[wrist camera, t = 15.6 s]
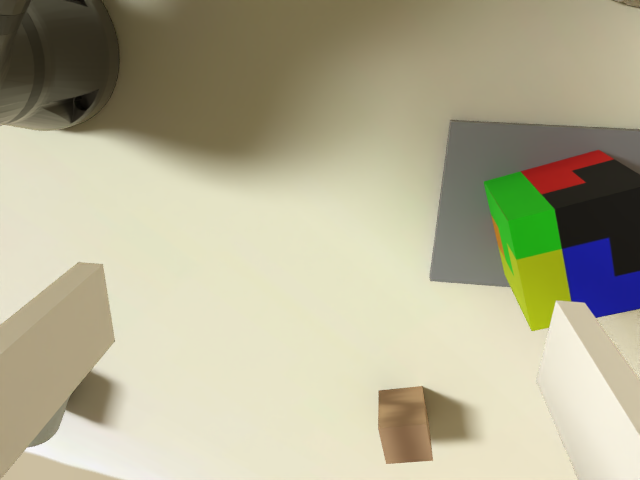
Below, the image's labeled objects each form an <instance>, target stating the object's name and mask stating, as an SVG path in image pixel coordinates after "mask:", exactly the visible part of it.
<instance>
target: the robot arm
mask: <svg viewBox="0 0 640 480" xmlns="http://www.w3.org/2000/svg"><path fill="white" fill-rule="evenodd" d="M118 70H119V49H118V42H117V37H116V33H115V30H114V27H113V24H112V21H111V19H110V16H109V14H108V12H107V10H106V8H105V6H104V5H103V3H102V1H101V0H0V126H1V125H9V126H14V127H20V128H26V129H32V130H39V131H50V130H59V129H64V128H67V127H70V126H73V125H76V124H79V123H82V122H84V121H86V120H88V119H90V118H91V117H93V116H94V115H95V114H96V113H98V112H99V111H100V110H101V109H102V108H103V106H104V105H105V104H106V103H107V101H108V100H109V98H110V96H111V94H112V92H113V90H114V87H115V84H116V81H117V76H118ZM114 342H115V339H114V332H113V326H112V320H111V313H110V307H109V301H108V294H107V288H106V282H105V275H104V269H103V264H94V263H81V262H78V263H77V264H76V265H74V266H73V267H72V268H71V269H69V270H68V271H67V272H66V273H65V274H63V275H62V276H61V277H60V278H58V279H57V280H56V281H55V282H53V283H52V284H51V285H50V286H48V287H47V288H46V289H45V290H43V291H42V292H41V293H40V294H38V295H37V296H36V297H35V298H33V299H32V300H31V301H30V302H28V303H27V304H26V305H25V306H24V307H22V308H21V309H20V310H19V311H17V312H16V313H15V314H14V315H12V316H11V317H10V318H9V319H7V320H6V321H5V322H4V323H2V324H1V325H0V479H1V478H2V477H3V476H4V475H5V473H6V472H7V471H8V470H9V469H10V467H11V466H12V465H13V464H14V463H15V461H16V460H17V459H18V458H19V456H20V455H21V454H22V453H23V452H24V450H25V449H26V448H27V447H28V446H29V444H30V443H31V442H32V441H33V440H34V438H35V437H36V436H37V435H38V434H39V432H40V431H41V430H42V429H43V427H44V426H45V425H46V424H47V423H48V421H49V420H50V419H51V418H52V417H53V415H54V414H55V413H56V412H57V411H58V409H59V408H60V407H61V406H62V404H63V403H64V402H65V401H66V400H67V398H68V397H69V396H70V395H71V394H72V392H73V391H74V390H75V389H76V388H77V386H78V385H79V384H80V383H81V381H82V380H83V379H84V378H85V377H86V375H87V374H88V373H89V372H90V371H91V369H92V368H93V367H94V366H95V365H96V363H97V362H98V361H99V360H100V359H101V357H102V356H103V355H104V354H105V352H106V351H107V350H108V349H109V348H110V346H111V345H112V344H113V343H114ZM536 382H537V384H538V386H539V389H540V391H541V393H542V396H543V398H544V401H545V403H546V405H547V408H548V410H549V412H550V415H551V417H552V419H553V422H554V424H555V426H556V429H557V431H558V433H559V436H560V438H561V440H562V443H563V445H564V447H565V450H566V452H567V454H568V457H569V459H570V462H571V464H572V466H573V469H574V471H575V473H576V476H577V478H578V480H640V379H639V378H638V376H637V375H636V374H635V372H634V371H633V369H632V368H631V367H630V365H629V364H628V362H627V361H626V360H625V358H624V357H623V355H622V354H621V353H620V351H619V350H618V348H617V347H616V346H615V344H614V343H613V341H612V340H611V339H610V337H609V336H608V334H607V333H606V332H605V330H604V329H603V327H602V326H601V325H600V323H599V322H598V320H597V319H596V318H595V316H594V315H593V313H592V312H591V311H590V309H589V308H588V307H587V305H586V304H585V303H582V302H570V301H557V300H556V302H555V306H554V310H553V314H552V318H551V322H550V326H549V330H548V334H547V338H546V342H545V346H544V350H543V354H542V358H541V362H540V366H539V370H538V374H537V378H536Z"/></svg>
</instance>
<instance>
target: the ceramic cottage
mask: <svg viewBox="0 0 640 480" xmlns="http://www.w3.org/2000/svg"><path fill="white" fill-rule="evenodd" d="M613 1H618V2H623V3H625V4H627V5H630V6H635V7H640V0H613Z"/></svg>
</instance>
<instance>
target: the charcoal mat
mask: <svg viewBox="0 0 640 480" xmlns="http://www.w3.org/2000/svg"><path fill="white" fill-rule="evenodd" d="M596 150H600V151H602V152H603V153H605V154H607V155H608V156H610V157H612V158H613V159H615V160H617V161H618V162H620V163H622V164H623V165H625V166H627V167H628V168H630V169H632V170H633V171H635V172H636V173H638V174H640V130H638V129H619V128H599V127H579V126H559V125H539V124H519V123H499V122H479V121H459V120H450V126H449V134H448V141H447V149H446V157H445V164H444V172H443V179H442V187H441V194H440V202H439V210H438V217H437V225H436V232H435V240H434V247H433V255H432V263H431V270H430V281H438V282H451V283H464V284H476V285H489V286H502V287H510V285H509V283H508V281H507V278H506V276H505V274H504V270H503V265H502V261H501V256H500V252H499V248H498V243H497V239H496V235H495V230H494V226H493V221H492V217H491V213H490V208H489V204H488V200H487V195H486V191H485V186H484V181H487V180H491V179H495V178H498V177H502V176H505V175H509V174H513V173H516V172H520V171H523V170H527V169H531V168H534V167H538V166H542V165H545V164H549V163H552V162H556V161H560V160H563V159H567V158H570V157H574V156H578V155H581V154H585V153H588V152H592V151H596Z"/></svg>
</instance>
